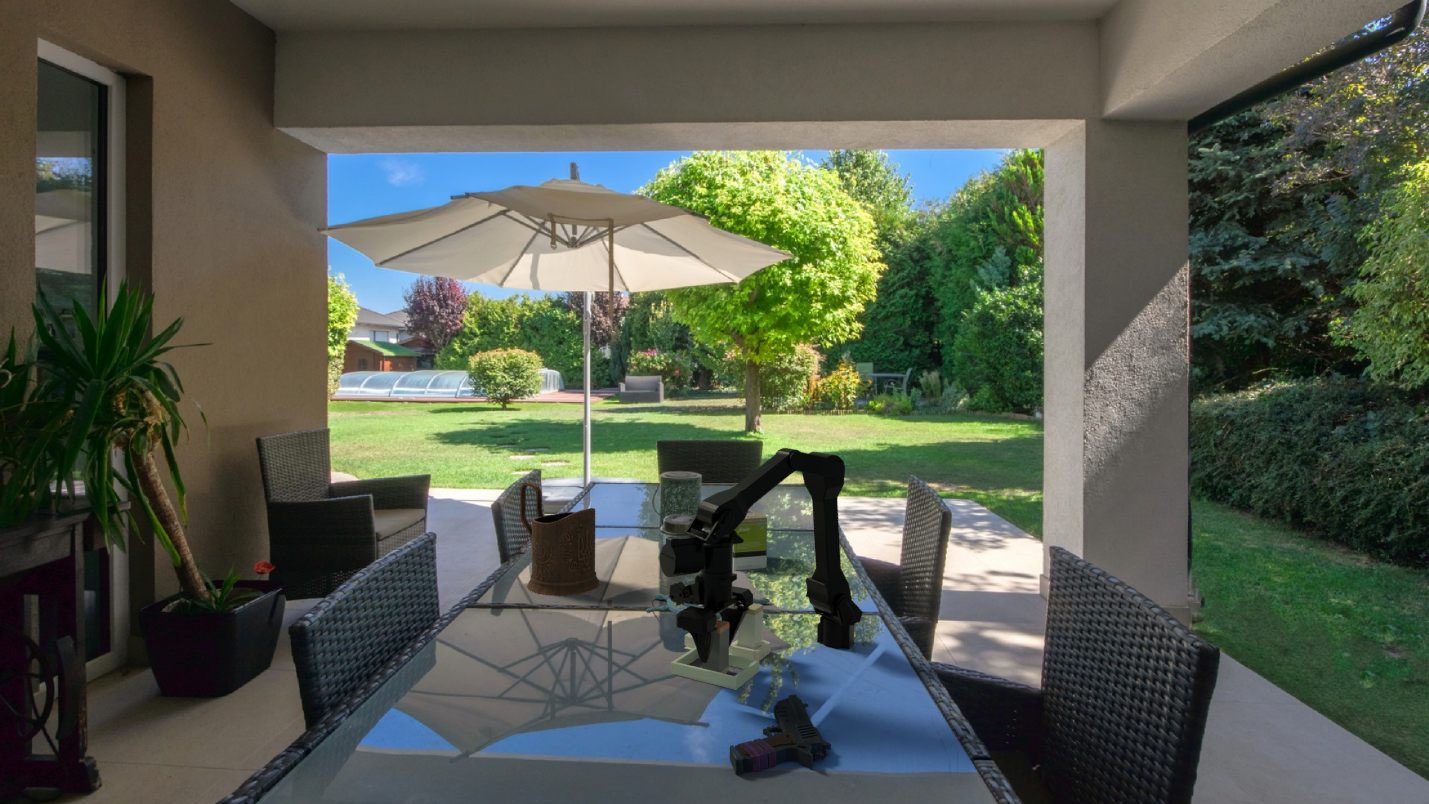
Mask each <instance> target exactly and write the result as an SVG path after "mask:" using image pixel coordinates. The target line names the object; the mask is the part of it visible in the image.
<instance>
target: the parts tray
mask: <svg viewBox="0 0 1429 804" xmlns="http://www.w3.org/2000/svg"><path fill="white" fill-rule="evenodd" d="M698 659H699V660H700V658H699V655H698V652H697V649H696V647H695V648H693V649H692V650H689V651H687V652H685V653H684V654H682V655H681V656H679V657H678V658H676V659H675V660H672V661H671V662H670V674H671V675H675V676H678V677H682V678H686V679H691V680H695V681H699V682H702V683H703V682H704V683H707V684H711V685H715V686H720V687H722V688H726V689H732V690H734V691H735V690H736V691H737V689H739V688H740V687H742V686H743V685H744V684H746V682H748V681H749V680H750V679H752V677H754V676H756V675H757V674H758V673H759V672H760V661H759V660H756V659H752V658H747V657H743V656H738V655H734V654H729V667H734V668H737V669H741V671H740V672H738V673H737V674H736V675H731V674H727V673H725V674H723V673H719V672H715V671H711V670H707V669H702V667H698V666H694V665H690V664H692V663H693V662H695V661H696V660H698Z"/></svg>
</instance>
